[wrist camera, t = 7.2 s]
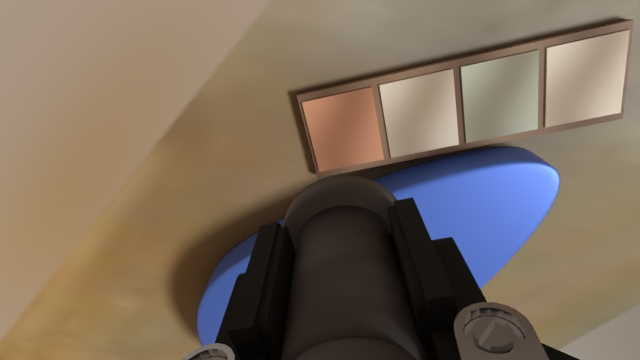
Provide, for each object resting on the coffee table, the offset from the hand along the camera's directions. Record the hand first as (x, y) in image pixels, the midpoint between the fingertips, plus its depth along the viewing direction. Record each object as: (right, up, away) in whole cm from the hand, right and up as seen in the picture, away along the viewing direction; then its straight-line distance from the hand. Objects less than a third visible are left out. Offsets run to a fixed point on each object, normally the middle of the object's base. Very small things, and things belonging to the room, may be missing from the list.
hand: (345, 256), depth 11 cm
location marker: (+2, -3, +15) cm, 16 cm away
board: (+7, +6, +10) cm, 13 cm away
